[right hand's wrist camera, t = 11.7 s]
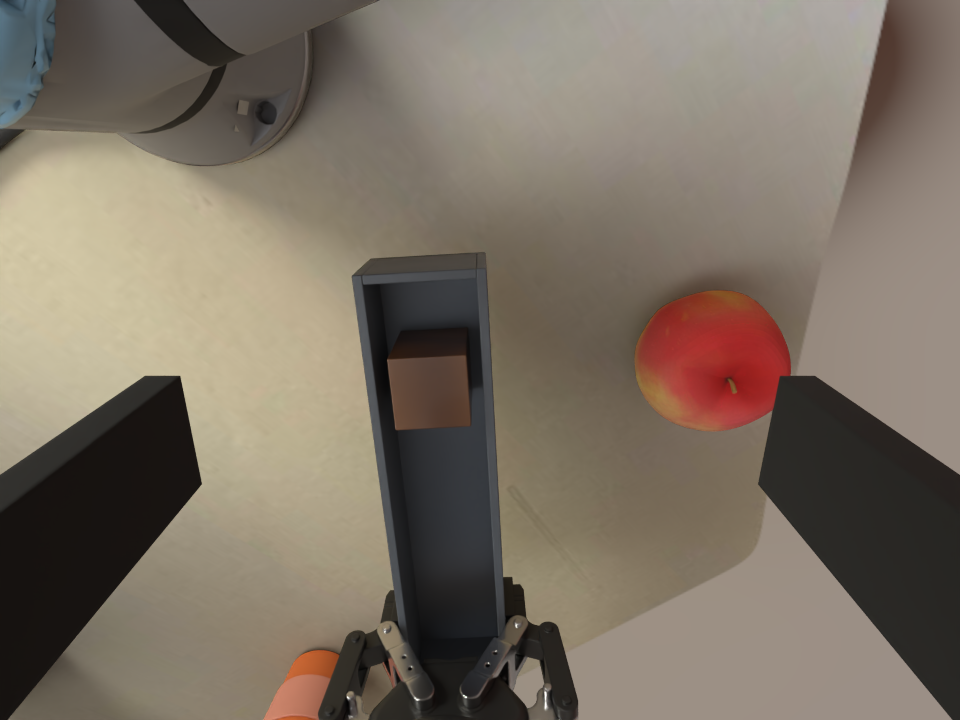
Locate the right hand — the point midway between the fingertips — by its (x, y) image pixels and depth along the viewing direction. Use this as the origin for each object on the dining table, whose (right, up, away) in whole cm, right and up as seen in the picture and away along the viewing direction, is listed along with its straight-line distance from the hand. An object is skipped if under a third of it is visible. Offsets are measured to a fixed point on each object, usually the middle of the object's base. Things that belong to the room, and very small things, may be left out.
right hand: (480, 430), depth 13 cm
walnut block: (-3, +2, +21) cm, 21 cm away
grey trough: (-2, -6, +24) cm, 25 cm away
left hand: (-2, -14, +27) cm, 30 cm away
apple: (+16, +3, +31) cm, 35 cm away
